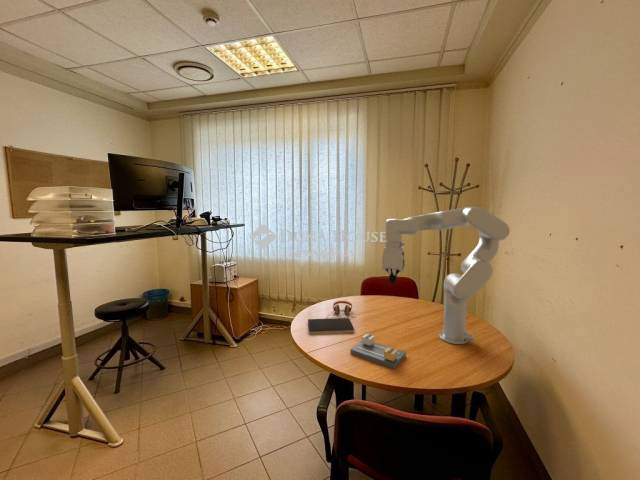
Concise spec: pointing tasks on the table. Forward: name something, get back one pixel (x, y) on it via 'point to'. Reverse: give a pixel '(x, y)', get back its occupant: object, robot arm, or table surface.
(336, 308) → the headphones
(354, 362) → the table surface
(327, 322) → the hardcover book
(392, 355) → the amber fader
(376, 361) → the mixer console
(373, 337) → the white fader
